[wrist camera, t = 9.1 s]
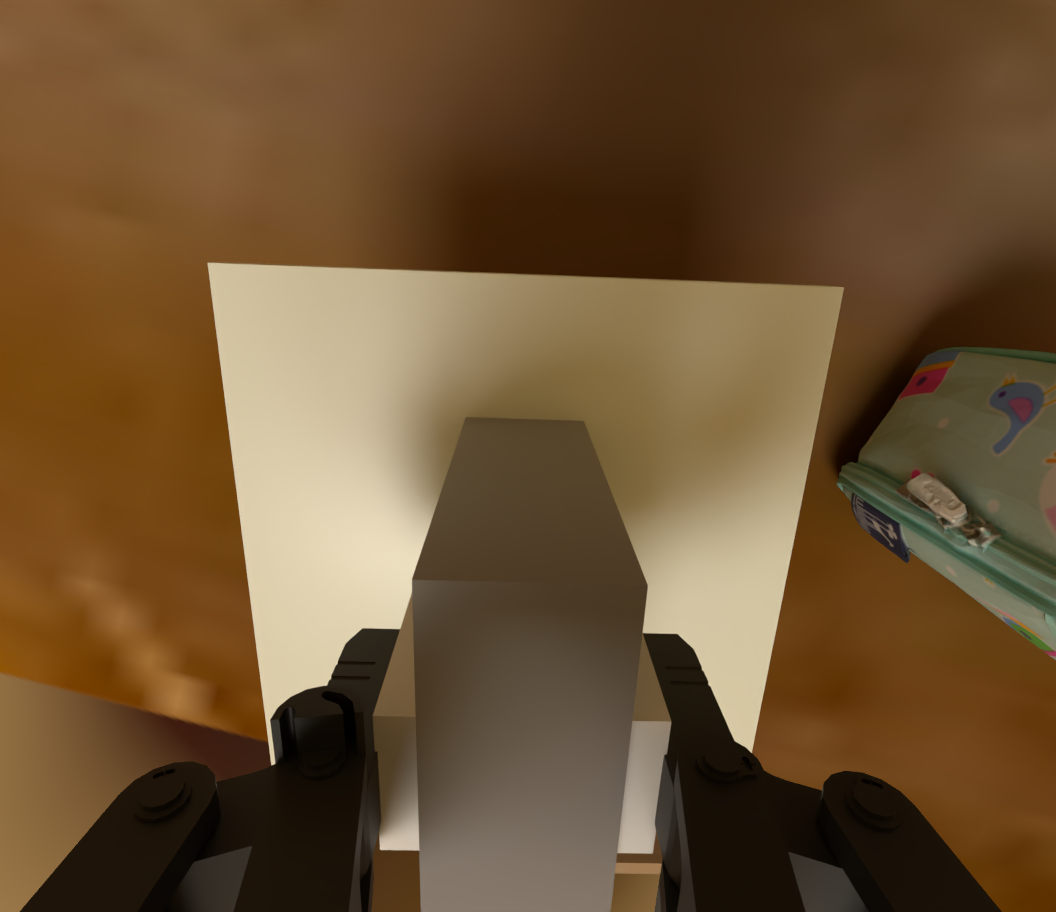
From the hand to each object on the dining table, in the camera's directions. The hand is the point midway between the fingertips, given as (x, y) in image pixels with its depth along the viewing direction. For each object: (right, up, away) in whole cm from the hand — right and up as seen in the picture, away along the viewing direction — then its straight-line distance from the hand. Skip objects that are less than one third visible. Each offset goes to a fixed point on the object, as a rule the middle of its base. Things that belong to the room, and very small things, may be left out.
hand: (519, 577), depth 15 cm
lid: (0, +1, +3) cm, 3 cm away
